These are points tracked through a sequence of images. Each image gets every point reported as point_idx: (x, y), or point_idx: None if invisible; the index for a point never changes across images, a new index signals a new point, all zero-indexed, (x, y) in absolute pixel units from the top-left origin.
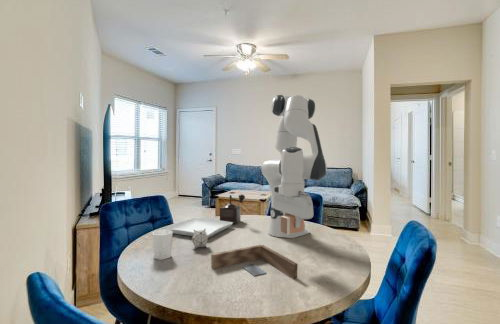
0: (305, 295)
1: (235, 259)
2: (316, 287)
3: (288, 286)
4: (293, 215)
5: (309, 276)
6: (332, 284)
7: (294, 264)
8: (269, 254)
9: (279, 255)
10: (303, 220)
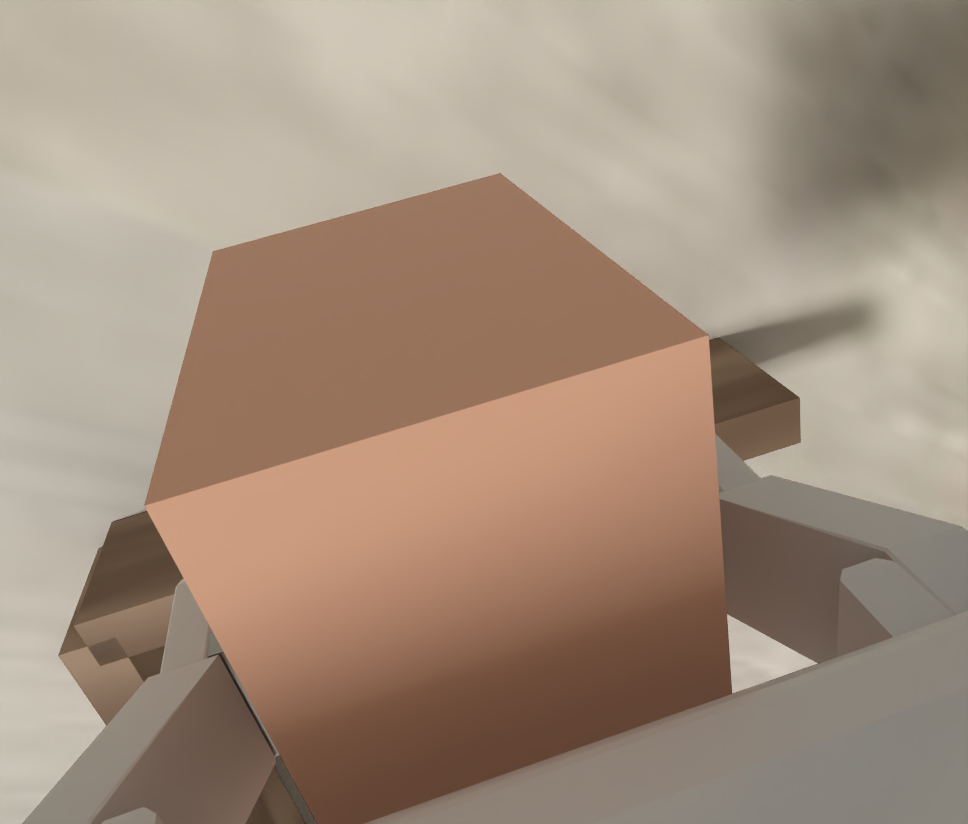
0: (962, 382)
1: (272, 801)
2: (924, 243)
3: (803, 455)
4: (472, 726)
5: (736, 202)
6: (964, 53)
7: (799, 434)
8: None
9: None
10: (619, 278)
